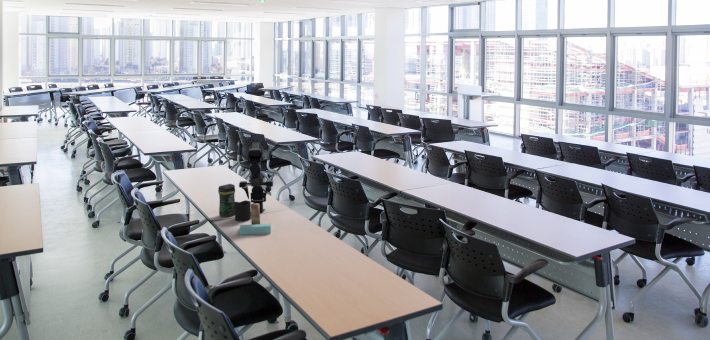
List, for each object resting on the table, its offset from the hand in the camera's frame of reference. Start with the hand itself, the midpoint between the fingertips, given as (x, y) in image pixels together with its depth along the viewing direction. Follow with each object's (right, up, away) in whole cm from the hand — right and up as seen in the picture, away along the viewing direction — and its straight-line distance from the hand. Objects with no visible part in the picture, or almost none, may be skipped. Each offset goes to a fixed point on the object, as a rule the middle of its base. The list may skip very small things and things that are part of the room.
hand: (256, 198), depth 308 cm
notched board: (+2, -16, -14) cm, 22 cm away
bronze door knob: (+2, -16, -12) cm, 20 cm away
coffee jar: (-19, -11, +13) cm, 26 cm away
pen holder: (-9, -12, +5) cm, 16 cm away
